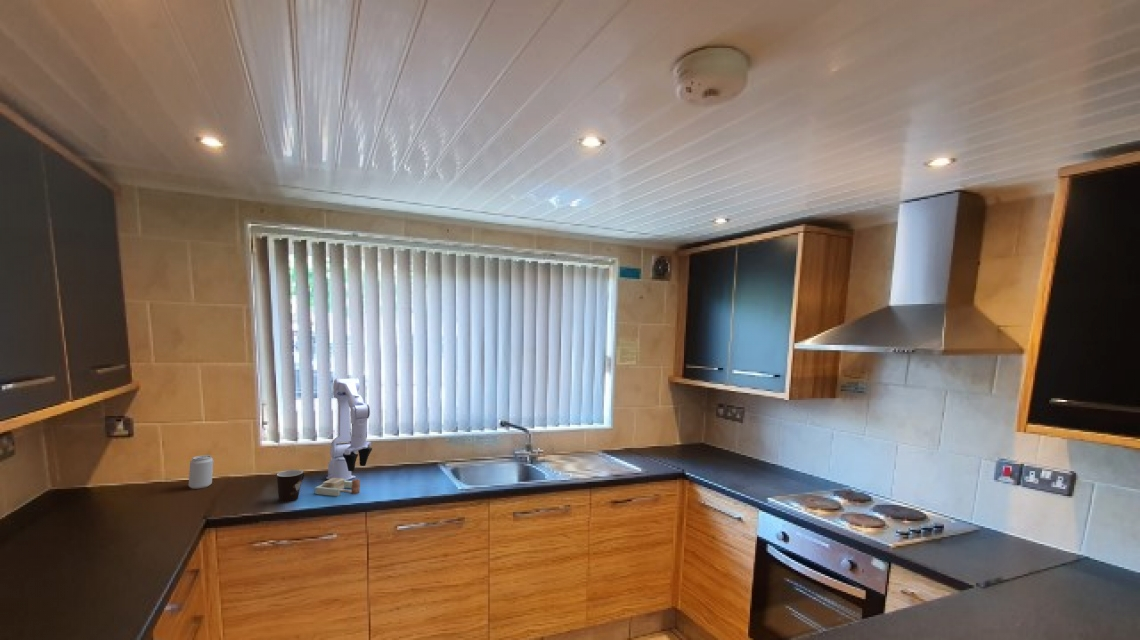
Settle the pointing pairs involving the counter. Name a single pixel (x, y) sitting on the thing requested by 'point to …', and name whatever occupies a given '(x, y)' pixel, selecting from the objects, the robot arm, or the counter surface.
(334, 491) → the lane
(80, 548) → the counter surface
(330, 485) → the wooden toy mallet
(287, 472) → the coffee mug
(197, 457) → the can
